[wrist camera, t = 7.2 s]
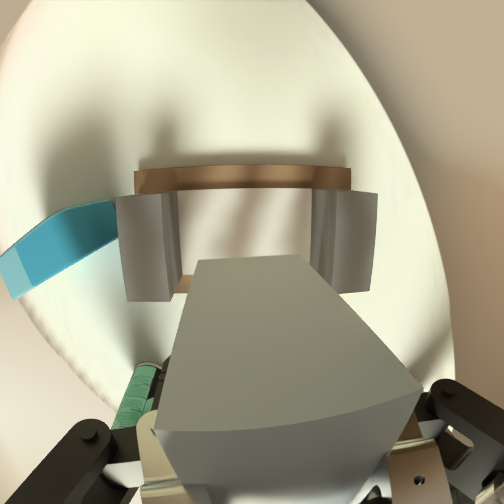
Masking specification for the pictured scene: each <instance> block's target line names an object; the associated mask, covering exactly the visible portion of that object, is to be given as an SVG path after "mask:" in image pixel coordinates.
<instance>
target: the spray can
mask: <svg viewBox="0 0 504 504" xmlns="http://www.w3.org/2000/svg"><path fill="white" fill-rule="evenodd" d="M161 369H162V366H160V365H158V364H156V363H152V362H143V363H140V364H138V365H137V367H136V368H135V370H134V373H133V375H132V377H131V380H130V382H129V384H128V387H127V389H126V392H125V394H124V397H123V399H122V402H121V404H120V407H119V409H118V412H117V414H116V417H115V420H114V422H113V425H112V428H111V430H112V429H120V428H127V427H132V426H135V425H137V422H138V420H139V419H140V418H141V417H142V416H143V415H144V414H146V413H148V412H150V411H151V407H152V403H153V399H154V395H155V392H156V388H157V384H158V382H159V377H160V374H161Z"/></svg>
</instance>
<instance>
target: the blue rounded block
mask: <svg viewBox="0 0 504 504" xmlns="http://www.w3.org/2000/svg"><path fill="white" fill-rule="evenodd" d="M117 238H118V228H117V216H116V212H115V209H114V207H113V204H112V202H111V200H110V199H107V200H101V201H96V202H91V203H86V204H81V205H76V206H72V207H67V208H64V209H61V210H59V211H57V212H55V213H53V214H52V215H50V216H49V217H47V218H46V219H44V220H43V221H42V222H40V223H39V224H38V225H37V226H35V227H34V228H33V229H31V230H30V231H29V232H28V233H26V234H25V235H24V236H23V237H22V238H20V239H19V240H18V241H17V242H16V243H14V244H13V245H12V246H11V247H10V248H9V249H8V250H6V251H5V252H4V253H3V254H2V255H1V256H0V273H1V275H2V278H3V280H4V282H5V284H6V286H7V289H8V291H9V293H10V295H11V297H12V299H13V300H16V299H17V298H19V297H20V296H22V295H23V294H25V293H26V292H28V291H30V290H31V289H33V288H34V287H36V286H38V285H39V284H41V283H42V282H44V281H46V280H47V279H49V278H51V277H52V276H54V275H56V274H57V273H59V272H61V271H62V270H64V269H66V268H68V267H69V266H71V265H73V264H74V263H76V262H78V261H80V260H81V259H83V258H85V257H86V256H88V255H90V254H91V253H93V252H95V251H96V250H98V249H100V248H102V247H103V246H105V245H107V244H109V243H110V242H112V241H114V240H116V239H117Z"/></svg>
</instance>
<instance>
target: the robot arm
mask: <svg viewBox="0 0 504 504" xmlns="http://www.w3.org/2000/svg"><path fill="white" fill-rule="evenodd" d="M170 357H171V355H170V356H169V357H168V358H167V359H166V360H165V361H164V362H163V366H162V369H161V374H160V377H159V382H158V384H157V388H156V392H155V395H154V399H153V403H152V407H151V411H150V412H148V413H146V414H144V415H143V416H142V417H141V418H140V419H139V420H138V422H137V425H135V426H132V427H127V428H120V429H112V430H110V429H109V427H108V426H107V425H106V424H105V423H104V422H102V421H100V420H97V419H85V420H82V421H80V422H78V423H76V424H75V425H74V426H73V427H72V428H71V429H70V430H69V431H68V433H67V434H66V435H65V436H64V437H63V438H62V439H61V440H60V441H59V442H58V444H57V445H56V446H55V447H54V448H53V449H52V450H51V451H50V452H49V454H48V455H47V456H46V457H45V458H44V459H43V460H42V461H41V463H40V464H39V465H38V466H37V467H36V468H35V469H34V470H33V472H32V473H31V474H30V475H29V476H28V477H27V479H26V480H25V481H24V482H23V483H22V484H21V485H20V486H19V488H18V489H17V490H16V491H15V492H14V493H13V494H12V496H11V497H10V498H9V499H8V500H7V501H6V503H5V504H129V503H130V501H131V499H132V498H133V496H134V494H135V493H136V491H137V490H138V488H139V486H141V487H140V495H141V500H142V504H213V502H212V500H211V498H210V496H209V494H208V492H207V489H206V487H205V485H204V484H182V483H181V482H180V480H179V478H178V477H177V475H176V473H175V471H174V469H173V468H172V466H171V464H170V462H169V460H168V458H167V456H166V454H165V452H164V450H163V448H162V446H161V444H160V442H159V440H158V438H157V436H156V434H155V432H154V425H155V420H156V416H157V411H158V406H159V402H160V398H161V393H162V389H163V385H164V381H165V377H166V373H167V369H168V365H169V361H170ZM449 425H450V426H451V427H453V428H454V429H455V430H457V431H458V432H460V433H461V434H463V435H464V436H466V437H467V438H469V439H470V440H471V441H472V442H473V444H474V447H467V446H466V445H464V444H463V443H461V442H460V441H458V440H457V439H456V438H455V436H454V435H453V434H452V432H451V431H450V430H449V429H448V426H449ZM350 504H504V410H503V409H501V408H500V407H498V406H496V405H495V404H493V403H491V402H490V401H488V400H486V399H485V398H483V397H481V396H480V395H478V394H477V393H475V392H473V391H472V390H470V389H468V388H467V387H465V386H463V385H462V384H460V383H458V382H456V381H454V380H451V379H440V380H437V381H436V382H434V383H433V384H432V386H431V388H430V390H429V392H424V391H423V390H422V393H421V395H420V397H419V399H418V402H417V404H416V406H415V408H414V410H413V412H412V414H411V416H410V418H409V420H408V422H407V424H406V426H405V428H404V429H403V431H402V433H401V435H400V437H399V438H398V440H397V442H396V444H395V445H394V447H393V449H392V450H390V451H387V452H385V454H384V455H383V457H382V458H381V460H380V462H379V463H378V465H377V466H376V468H375V470H374V471H373V473H372V474H371V476H370V477H369V479H368V480H367V481H366V483H365V484H364V486H363V487H362V488H361V490H360V491H359V493H358V494H357V495H356V497H355V498H354V499H353V500H352V502H351V503H350Z"/></svg>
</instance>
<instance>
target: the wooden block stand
mask: <svg viewBox="0 0 504 504" xmlns="http://www.w3.org/2000/svg"><path fill="white" fill-rule="evenodd" d="M134 187H135V195H129V196H123V197H117V198H115V202H116V216H117V228H118V238H119V247H120V255H121V263H122V270H123V277H124V283H125V289H126V295H127V300H128V301H137V302H170V301H171V299H172V297H173V294H174V293H188V291H189V288H190V285H191V281H192V278H193V275H194V271H195V268H196V265H197V262H198V260H203V259H221V258H238V257H255V256H272V255H289V254H300V255H301V256H302V257H303V258H304V260H305V261H306V262H307V263H308V264H309V265H310V266H311V267H312V268H313V269H314V270H315V271H316V272H317V273H318V274H319V275H320V276H321V277H322V278H323V279H324V280H325V281H326V282H327V283H328V284H329V285H330V286H331V287H332V288H333V289H334V290H335V291H336V292H337V293H338V294H343V293H354V292H364V291H369V290H370V283H371V275H372V267H373V257H374V247H375V235H376V221H377V200H378V194H377V193H369V192H360V191H351V168H339V167H323V166H302V165H213V166H192V167H176V168H163V169H152V170H142V171H134Z"/></svg>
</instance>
